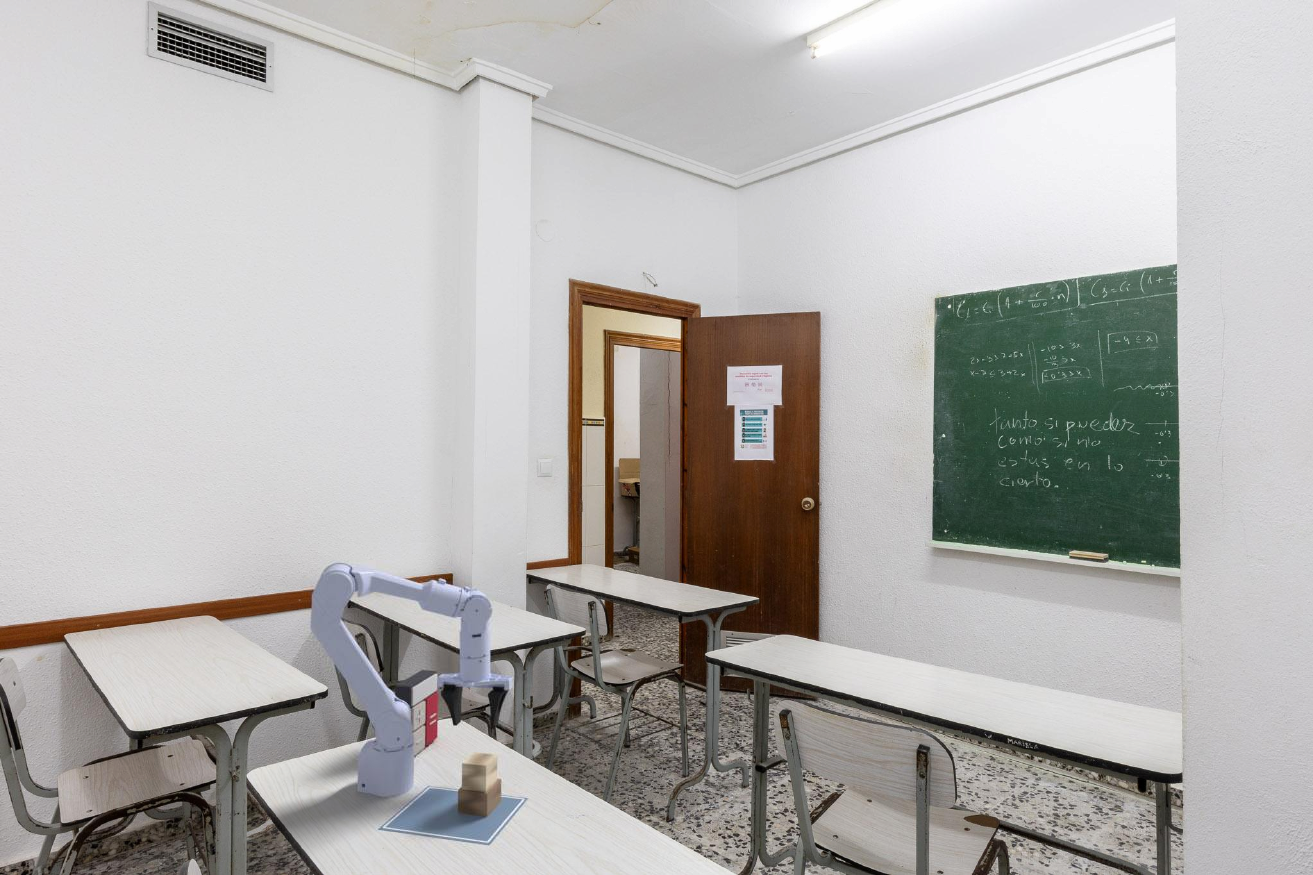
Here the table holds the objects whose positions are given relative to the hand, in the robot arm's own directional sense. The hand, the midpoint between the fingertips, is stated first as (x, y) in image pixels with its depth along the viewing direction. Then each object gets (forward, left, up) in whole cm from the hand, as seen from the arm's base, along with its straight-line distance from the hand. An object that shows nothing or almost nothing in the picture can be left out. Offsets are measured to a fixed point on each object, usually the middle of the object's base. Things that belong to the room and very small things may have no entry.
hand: (475, 724), depth 137 cm
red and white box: (-18, +10, -11) cm, 23 cm away
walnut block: (+7, -11, -10) cm, 16 cm away
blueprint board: (+4, -14, -10) cm, 18 cm away
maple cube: (+7, -11, -6) cm, 14 cm away
